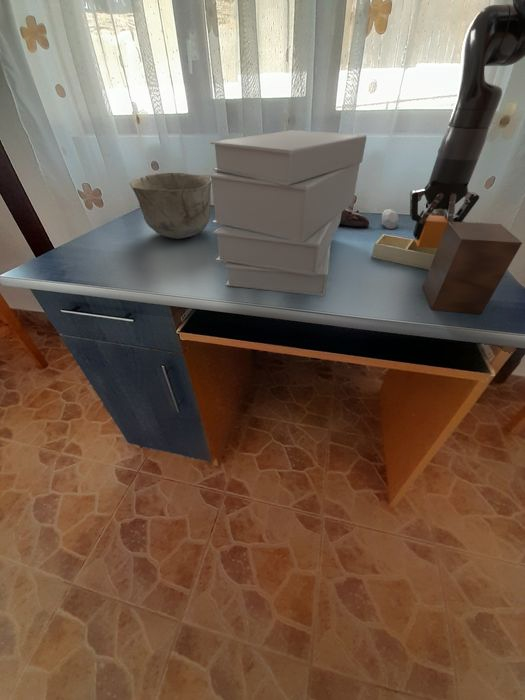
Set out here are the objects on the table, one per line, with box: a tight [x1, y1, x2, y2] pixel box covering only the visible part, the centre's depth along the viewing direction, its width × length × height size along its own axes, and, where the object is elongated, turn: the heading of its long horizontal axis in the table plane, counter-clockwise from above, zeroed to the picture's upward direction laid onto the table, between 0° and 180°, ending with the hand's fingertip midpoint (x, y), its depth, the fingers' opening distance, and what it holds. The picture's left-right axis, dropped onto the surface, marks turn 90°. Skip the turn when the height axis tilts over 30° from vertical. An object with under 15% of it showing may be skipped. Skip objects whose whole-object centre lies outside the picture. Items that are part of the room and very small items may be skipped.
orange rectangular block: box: [414, 214, 448, 248], centre depth 70 cm, size 4×4×6 cm
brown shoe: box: [339, 207, 370, 228], centre depth 94 cm, size 6×12×11 cm
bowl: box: [129, 172, 212, 240], centre depth 85 cm, size 22×22×15 cm
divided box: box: [371, 233, 437, 271], centre depth 73 cm, size 8×22×4 cm, turn 57°
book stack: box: [206, 129, 367, 297], centre depth 68 cm, size 30×35×26 cm
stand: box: [422, 221, 523, 316], centre depth 56 cm, size 9×9×14 cm
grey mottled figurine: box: [430, 209, 445, 218], centre depth 91 cm, size 12×6×7 cm, turn 158°
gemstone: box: [381, 208, 400, 230], centre depth 93 cm, size 6×6×5 cm
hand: (428, 238), depth 71 cm, fingers closed on orange rectangular block, 4 cm apart
